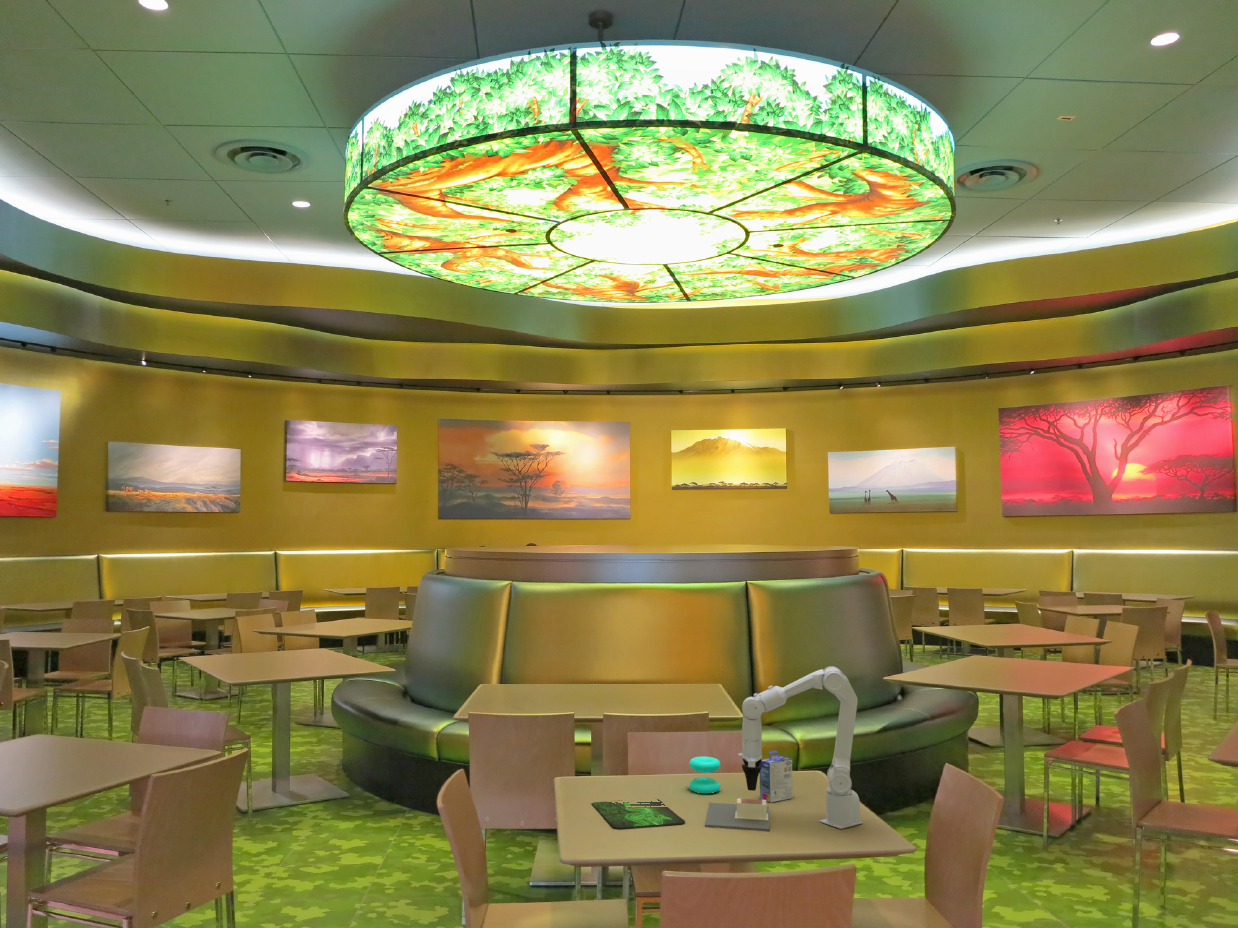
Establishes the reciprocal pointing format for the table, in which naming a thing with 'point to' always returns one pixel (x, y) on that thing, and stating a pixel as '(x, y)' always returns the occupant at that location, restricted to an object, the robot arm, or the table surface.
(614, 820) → the mouse mat
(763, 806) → the card deck
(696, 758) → the donuts
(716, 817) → the mat
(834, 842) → the table surface
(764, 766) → the ink cartridge box
